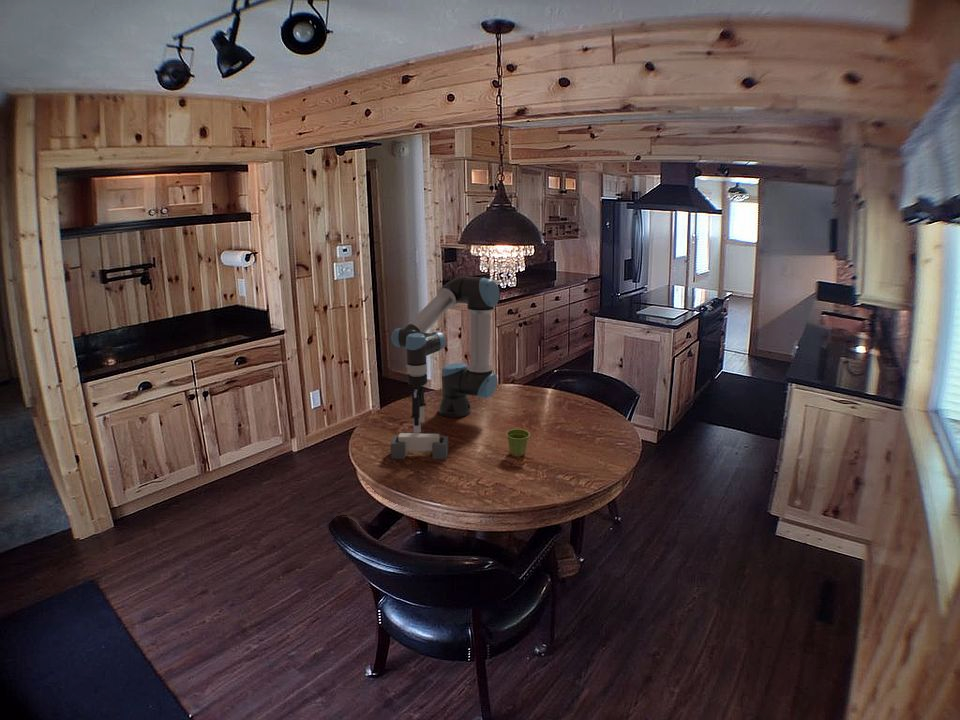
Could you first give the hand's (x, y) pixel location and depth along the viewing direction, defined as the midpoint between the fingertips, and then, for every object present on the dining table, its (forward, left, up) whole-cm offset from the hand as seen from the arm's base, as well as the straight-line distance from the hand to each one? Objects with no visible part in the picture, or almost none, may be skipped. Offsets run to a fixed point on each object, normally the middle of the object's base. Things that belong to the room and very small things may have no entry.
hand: (419, 426), depth 235 cm
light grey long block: (0, 0, -10) cm, 10 cm away
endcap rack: (0, 0, -12) cm, 12 cm away
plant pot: (-34, +20, -12) cm, 41 cm away
